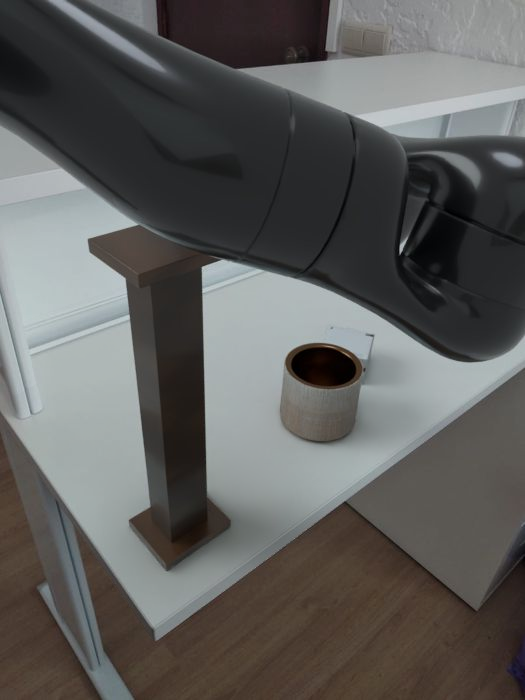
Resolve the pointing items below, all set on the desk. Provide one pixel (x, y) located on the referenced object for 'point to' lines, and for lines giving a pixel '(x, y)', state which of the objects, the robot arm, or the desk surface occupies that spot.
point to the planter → (320, 391)
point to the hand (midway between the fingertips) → (180, 102)
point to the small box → (351, 342)
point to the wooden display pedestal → (167, 387)
